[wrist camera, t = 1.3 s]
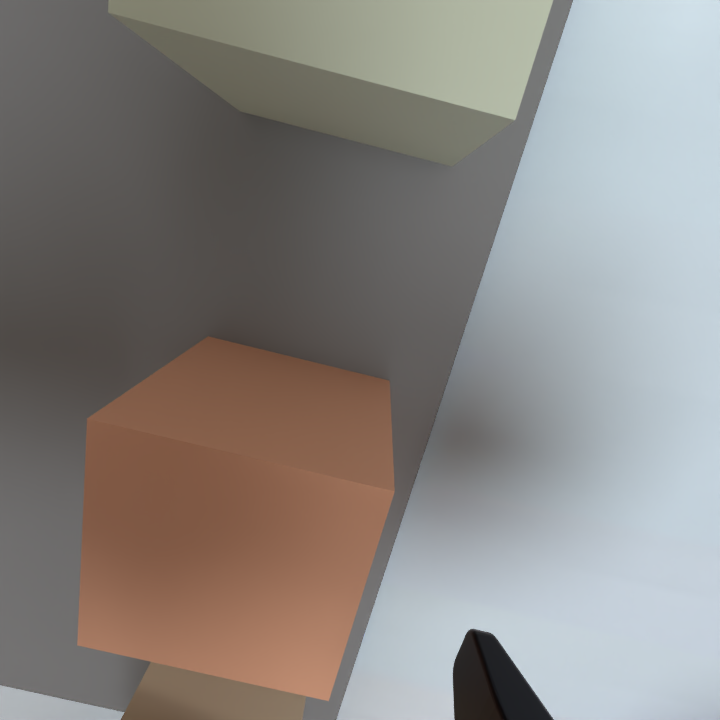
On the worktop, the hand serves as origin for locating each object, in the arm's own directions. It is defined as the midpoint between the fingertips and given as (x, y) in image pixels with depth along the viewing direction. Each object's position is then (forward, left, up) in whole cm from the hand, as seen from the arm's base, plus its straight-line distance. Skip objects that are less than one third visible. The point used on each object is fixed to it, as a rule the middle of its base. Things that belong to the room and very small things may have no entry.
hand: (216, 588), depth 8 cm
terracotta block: (0, 0, -5) cm, 5 cm away
